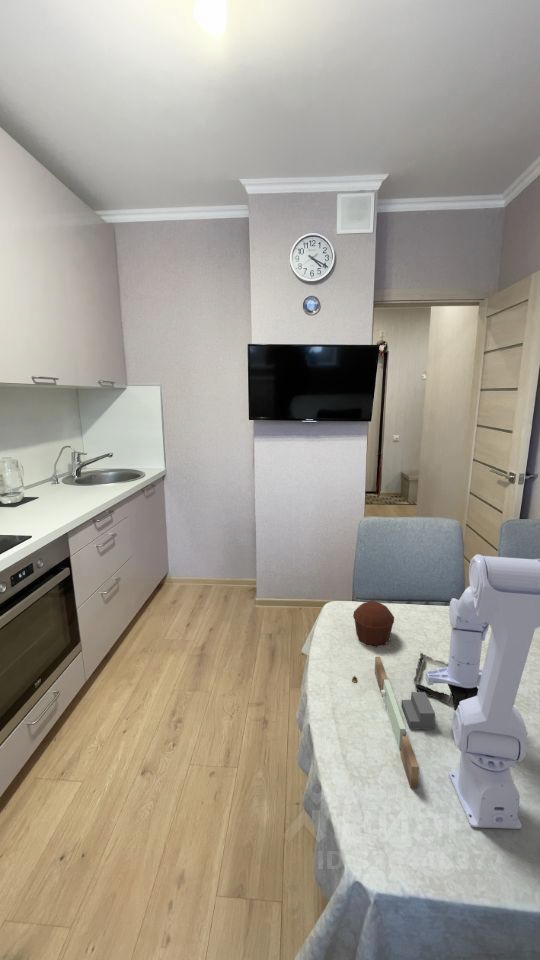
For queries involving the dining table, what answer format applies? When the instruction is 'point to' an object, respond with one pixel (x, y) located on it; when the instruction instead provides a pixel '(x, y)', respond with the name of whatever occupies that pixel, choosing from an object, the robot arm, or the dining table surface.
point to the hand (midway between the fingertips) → (459, 712)
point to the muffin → (373, 623)
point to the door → (393, 712)
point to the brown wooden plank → (406, 748)
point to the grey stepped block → (418, 711)
